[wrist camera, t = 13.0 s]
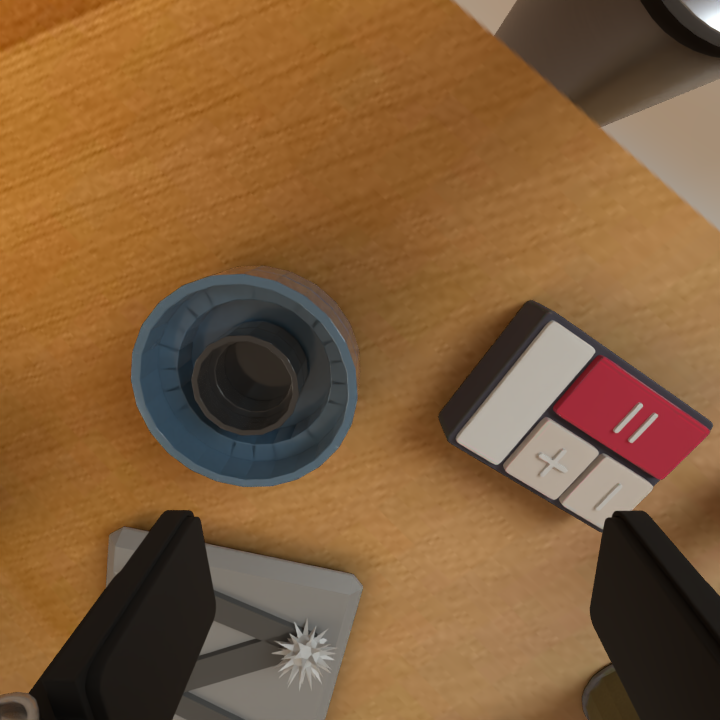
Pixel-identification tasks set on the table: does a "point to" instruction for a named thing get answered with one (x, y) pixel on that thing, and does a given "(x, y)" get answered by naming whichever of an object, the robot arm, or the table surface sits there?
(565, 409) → the calculator
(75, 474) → the table surface
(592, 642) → the table surface
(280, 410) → the black bowl
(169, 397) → the blue bowl
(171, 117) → the table surface
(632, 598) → the robot arm
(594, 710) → the canister
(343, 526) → the table surface
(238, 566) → the decorative plate
